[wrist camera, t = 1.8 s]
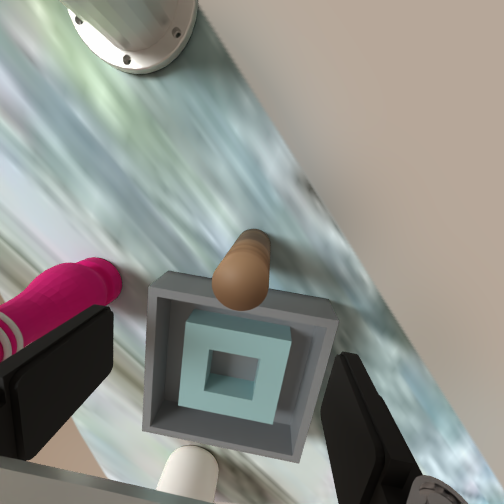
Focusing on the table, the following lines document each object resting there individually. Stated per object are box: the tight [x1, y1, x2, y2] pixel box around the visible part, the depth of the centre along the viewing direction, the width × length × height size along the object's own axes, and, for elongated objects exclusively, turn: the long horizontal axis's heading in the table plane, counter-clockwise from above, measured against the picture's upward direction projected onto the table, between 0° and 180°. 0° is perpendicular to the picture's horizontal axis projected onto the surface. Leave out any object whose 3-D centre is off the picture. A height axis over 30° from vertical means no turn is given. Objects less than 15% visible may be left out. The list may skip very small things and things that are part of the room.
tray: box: [142, 271, 339, 463], centre depth 30 cm, size 20×20×5 cm
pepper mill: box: [0, 257, 122, 362], centre depth 22 cm, size 7×7×20 cm
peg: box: [212, 229, 271, 311], centre depth 23 cm, size 4×4×12 cm
